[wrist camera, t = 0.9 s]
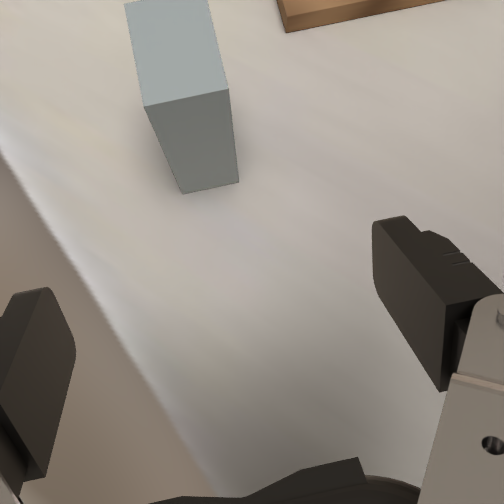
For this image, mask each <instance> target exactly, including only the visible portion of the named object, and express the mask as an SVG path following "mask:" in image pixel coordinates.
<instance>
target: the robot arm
mask: <svg viewBox="0 0 504 504" xmlns="http://www.w3.org/2000/svg"><path fill="white" fill-rule="evenodd" d="M372 259H373V279H374V284H375V288H376V291H377V293H378V296H379V298H380V299H381V301H382V302H383V304H384V306H385V307H386V309H387V310H388V312H389V314H390V315H391V317H392V318H393V320H394V321H395V323H396V325H397V326H398V328H399V329H400V331H401V333H402V334H403V336H404V337H405V339H406V340H407V342H408V344H409V345H410V347H411V348H412V350H413V352H414V353H415V355H416V356H417V358H418V360H419V361H420V363H421V364H422V366H423V367H424V369H425V371H426V372H427V374H428V375H429V377H430V379H431V380H432V382H433V383H434V385H435V386H436V388H437V390H438V391H439V392H444V391H447V395H446V399H445V402H444V406H443V410H442V414H441V417H440V421H439V425H438V428H437V432H436V436H435V440H434V443H433V447H432V451H431V455H430V458H429V462H428V466H427V469H426V473H425V477H424V481H423V484H422V488H421V489H420V488H418V487H416V486H413V485H411V484H408V483H405V482H402V481H399V480H395V479H391V478H386V477H380V476H370V475H364V472H363V469H362V467H361V464H360V461H359V459H358V457H355V458H351V459H346V460H342V461H337V462H333V463H328V464H324V465H320V466H315V467H311V468H306V469H302V470H299V471H297V472H295V473H293V474H291V475H289V476H287V477H285V478H283V479H281V480H279V481H277V482H275V483H273V484H271V485H269V486H267V487H265V488H263V489H261V490H259V491H257V492H255V493H253V494H251V495H249V496H247V497H243V498H223V497H190V496H181V497H176V498H172V499H167V500H163V501H159V502H154V503H150V504H504V293H503V292H502V291H501V290H500V289H499V288H498V287H497V286H496V285H495V284H494V283H493V282H492V281H491V280H490V279H489V278H488V277H487V276H486V275H485V274H484V273H483V272H482V271H480V270H479V269H478V268H477V267H476V266H475V265H474V264H473V263H470V260H469V259H468V258H467V257H466V256H465V255H464V254H463V253H460V250H459V249H458V248H457V247H456V246H455V245H454V244H453V243H452V242H451V241H450V240H449V239H447V238H445V237H443V236H441V235H439V234H436V233H434V232H432V231H430V230H428V231H423V232H421V231H420V230H419V229H418V228H417V227H416V226H415V225H414V224H413V223H412V222H411V221H410V220H409V219H408V218H407V217H406V216H398V217H393V218H388V219H383V220H378V221H374V223H373V225H372ZM75 359H76V348H75V342H74V338H73V336H72V333H71V331H70V328H69V326H68V324H67V322H66V320H65V317H64V315H63V313H62V311H61V309H60V306H59V304H58V302H57V300H56V298H55V295H54V294H53V292H52V290H51V289H50V288H48V287H44V288H38V289H34V290H29V291H24V292H19V293H15V294H14V295H13V296H12V298H11V300H10V302H9V304H8V306H7V308H6V309H5V311H4V314H3V316H2V317H0V504H25V503H24V502H23V500H22V499H21V498H20V496H19V495H20V491H21V488H22V485H23V482H26V481H30V480H35V479H39V478H44V477H46V473H47V469H48V465H49V461H50V457H51V453H52V449H53V445H54V442H55V438H56V434H57V430H58V426H59V422H60V418H61V414H62V410H63V406H64V402H65V399H66V395H67V391H68V387H69V383H70V379H71V375H72V371H73V368H74V363H75Z"/></svg>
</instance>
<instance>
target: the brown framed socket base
mask: <svg viewBox="0 0 504 504" xmlns="http://www.w3.org/2000/svg"><path fill="white" fill-rule="evenodd" d="M438 1H443V0H277V3H278V7H279V10H280V14H281V17H282V21H283V24H284V28H285V31H286V33H288V32H293V31H298V30H303V29H308V28H313V27H317V26H322V25H327V24H332V23H337V22H342V21H346V20H351V19H356V18H361V17H366V16H371V15H375V14H380V13H385V12H390V11H395V10H400V9H405V8H409V7H414V6H419V5H424V4H429V3H434V2H438Z"/></svg>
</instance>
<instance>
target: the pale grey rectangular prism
mask: <svg viewBox="0 0 504 504" xmlns="http://www.w3.org/2000/svg"><path fill="white" fill-rule="evenodd" d="M124 7H125V12H126V17H127V22H128V28H129V33H130V38H131V43H132V49H133V54H134V59H135V64H136V69H137V75H138V80H139V85H140V90H141V96H142V101H143V106H144V109H145V111H146V113H147V115H148V118H149V120H150V122H151V124H152V127H153V129H154V131H155V133H156V136H157V138H158V140H159V142H160V145H161V147H162V149H163V151H164V154H165V156H166V158H167V160H168V163H169V165H170V167H171V170H172V172H173V174H174V176H175V179H176V181H177V183H178V185H179V188H180V190H181V192H182V194H187V193H191V192H196V191H201V190H205V189H210V188H214V187H219V186H223V185H228V184H233V183H237V182H239V177H238V168H237V159H236V150H235V141H234V132H233V123H232V114H231V105H230V96H229V88H228V84H227V80H226V76H225V72H224V67H223V63H222V59H221V55H220V51H219V47H218V43H217V38H216V34H215V30H214V26H213V22H212V18H211V14H210V9H209V5H208V1H207V0H141V1H136V2H131V3H126V4H124Z"/></svg>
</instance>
